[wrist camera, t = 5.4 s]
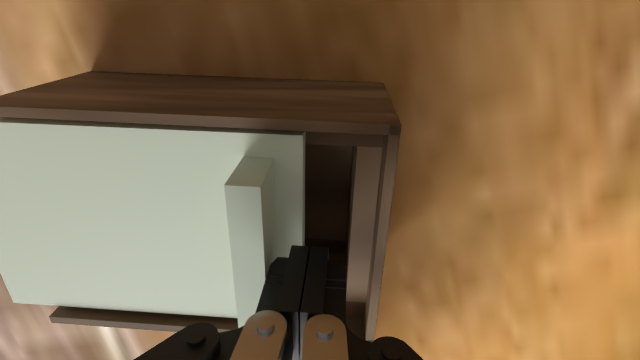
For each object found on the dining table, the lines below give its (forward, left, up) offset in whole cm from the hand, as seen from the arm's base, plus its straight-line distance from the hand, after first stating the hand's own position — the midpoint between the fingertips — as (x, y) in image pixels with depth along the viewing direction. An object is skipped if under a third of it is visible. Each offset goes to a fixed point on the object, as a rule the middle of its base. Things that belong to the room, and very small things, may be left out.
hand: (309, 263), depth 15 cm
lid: (0, -8, -2) cm, 8 cm away
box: (0, -5, -8) cm, 10 cm away
